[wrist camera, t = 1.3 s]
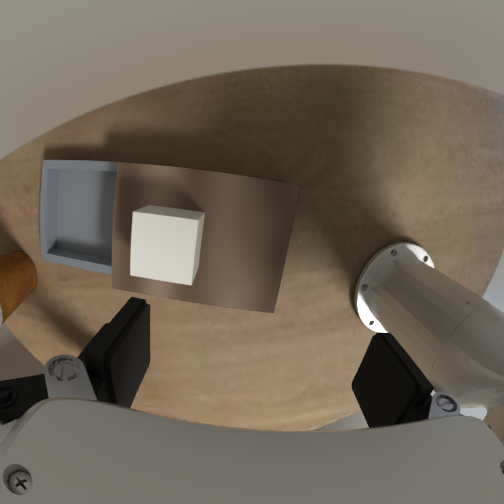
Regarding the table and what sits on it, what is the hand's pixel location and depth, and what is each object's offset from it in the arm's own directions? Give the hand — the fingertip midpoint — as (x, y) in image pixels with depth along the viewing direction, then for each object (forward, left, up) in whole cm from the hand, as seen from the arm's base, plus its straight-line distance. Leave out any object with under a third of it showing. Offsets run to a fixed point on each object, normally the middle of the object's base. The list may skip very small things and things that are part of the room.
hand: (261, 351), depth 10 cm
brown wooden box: (+5, 0, -20) cm, 21 cm away
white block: (+7, 0, -14) cm, 16 cm away
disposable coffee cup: (+32, +10, -21) cm, 39 cm away
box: (+19, 0, -20) cm, 28 cm away
